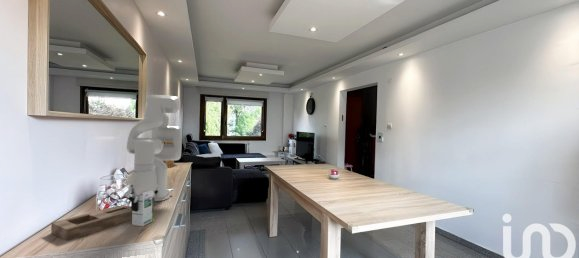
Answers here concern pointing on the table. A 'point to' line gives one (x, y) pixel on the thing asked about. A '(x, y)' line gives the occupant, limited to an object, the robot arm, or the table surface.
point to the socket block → (91, 222)
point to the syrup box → (143, 209)
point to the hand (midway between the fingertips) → (143, 208)
